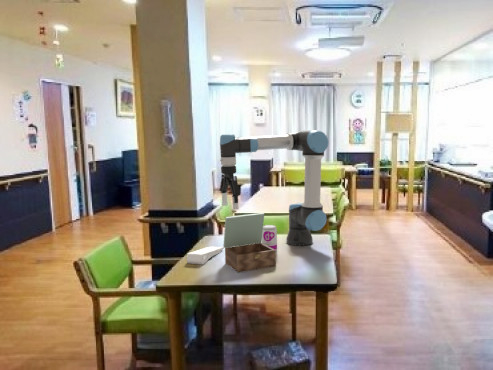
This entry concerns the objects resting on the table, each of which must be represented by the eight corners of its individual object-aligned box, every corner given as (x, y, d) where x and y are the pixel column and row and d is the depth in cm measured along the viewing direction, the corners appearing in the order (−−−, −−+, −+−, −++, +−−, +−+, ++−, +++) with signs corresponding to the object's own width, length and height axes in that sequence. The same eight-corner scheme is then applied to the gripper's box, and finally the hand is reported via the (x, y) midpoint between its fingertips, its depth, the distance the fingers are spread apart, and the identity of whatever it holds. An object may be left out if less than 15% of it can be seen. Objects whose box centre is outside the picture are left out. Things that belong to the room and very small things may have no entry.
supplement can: (276, 256, 228) (275, 228, 226) (260, 255, 230) (260, 227, 228) (278, 252, 236) (277, 224, 234) (263, 251, 237) (262, 224, 235)
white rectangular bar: (210, 259, 245) (187, 268, 219) (207, 246, 246) (184, 254, 219) (226, 256, 242) (204, 264, 215) (223, 243, 242) (201, 250, 216)
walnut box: (261, 257, 226) (260, 242, 225) (276, 266, 211) (276, 250, 210) (225, 263, 218) (224, 247, 217) (238, 273, 203) (238, 256, 202)
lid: (261, 242, 225) (260, 241, 226) (264, 213, 219) (263, 212, 220) (224, 247, 217) (223, 246, 218) (226, 218, 211) (225, 217, 212)
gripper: (212, 164, 227) (214, 204, 230) (231, 167, 205) (233, 212, 207) (225, 163, 230) (227, 203, 233) (246, 166, 208) (247, 210, 210)
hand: (230, 207), depth 220 cm, fingers open, 13 cm apart
